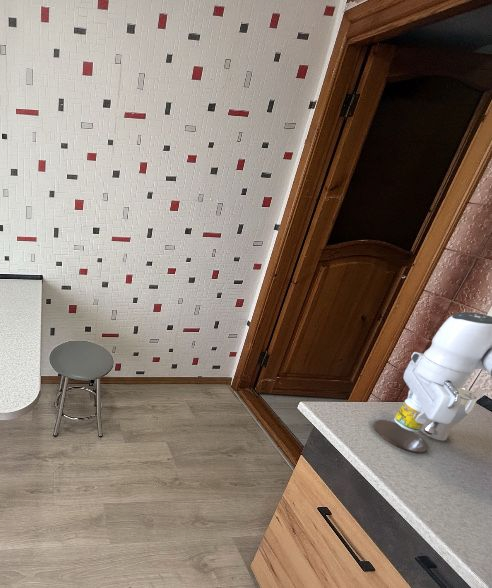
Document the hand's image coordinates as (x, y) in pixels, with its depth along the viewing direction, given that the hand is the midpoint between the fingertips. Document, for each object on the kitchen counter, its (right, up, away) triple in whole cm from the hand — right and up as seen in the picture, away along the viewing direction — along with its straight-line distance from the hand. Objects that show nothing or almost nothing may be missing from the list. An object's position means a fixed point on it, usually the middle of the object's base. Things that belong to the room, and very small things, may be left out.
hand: (413, 413), depth 89 cm
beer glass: (+11, -8, +6) cm, 15 cm away
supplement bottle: (0, -4, +2) cm, 4 cm away
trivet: (-1, -8, +3) cm, 9 cm away
